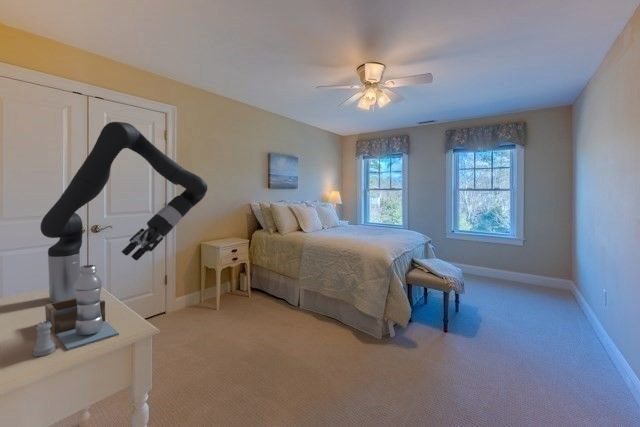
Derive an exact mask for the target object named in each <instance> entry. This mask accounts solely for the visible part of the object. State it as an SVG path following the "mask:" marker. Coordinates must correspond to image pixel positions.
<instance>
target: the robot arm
mask: <svg viewBox="0 0 640 427" xmlns="http://www.w3.org/2000/svg"><path fill="white" fill-rule="evenodd" d="M124 149H129V150H131V151H133V152H134V153H136V154H138V155H139V156H140V157H142V158H144V160H145V161H146V162H147V163H149V165H150V166H151V167H152V168H153V169H154V170H155V171H156V172H157V173H158V174H159V176H162V178H165V179H166V180H167V181H168V182H170V183H171V184H174V186H178V185H179V186H180V187H183V188H184V189H185V190H184V191H182V192H181V193H180V194H179V195H176V196H175V197H173V198H172V199H171V200H170V201H169V202H167V204H166V205H164V207H161V208H160V210H158V211H157V212H156V213H155V214H154V215H153V216H152V217H151V218H150V219H149V220H148V221H147V222H146V225H147V226H148V228H146V229H145V228H140V229H139V230H138V231H137V232H136V233H135V234H133V236H132V237H131V238H130V239H129V240H128V241H129V243H128V245H127V246H126V247H124V248H123V249H122V250H121V253H122V254H123V255H125V256H129V255H130V254H131V252H133V251H134V250H135V249H136V248H137V247H138V246H140V245H141V246H140V247H139V248H138V249H136V251H134V252H133V254H131V256H130V257H131V259H133V260H134V261H139V260H140V259H141V258H142V257H143V256H144V255H145V253H148V252H152V251H153V250H155V248H156V247H157V246H158V245H159V244H160V243H161V242H162V241H163V240H164V238H165V237H166V236H167V235H168V234H169V233H170V232H171V231H172V230H173V229H174V228H175V227H176V226H177V225H178V224H179V223H180V222H181V220H182V219H183V217H185V216H186V215H187V213H189V212H190V210H191V209H192V208H193V207H194V206H196V205H197V204H198V203H200V202H201V201H202V200H203V199H204V198H205V196H206V193H207V191H208V184H207V182H206V181H205V180H204V178H202V177H200V176H199V175H197V174H195V173H193V172H192V171H189V170H187V169H185V168H184V167H183V166H182V165H180V164H178V163H177V162H176V161H174V160H173V159H172V158H170V157H168V155H167V154H166V153H164V152H162V151H161V150H160V149H159V148H157V147H156V146H155V145H154V144H153V143H152V142H150V140H149V139H148V138H147V137H145V136H144V134H143V133H141V131H140V130H138V129H137V127H136V126H134V125H133V124H131V123H129V122H122V121H111V122H107V124H105V125H104V126H103V128H102V129H101V131H100V133H99V136H98V137H97V139H96V142H95V144H94V146H93V147H92V150H91V151H90V152H89V154H88V156H86V158H85V160H84V161H83V163H82V165H81V166H80V167H79V169H78V170H77V172H76V173H75V174H74V176H73V178H72V180H71V181H70V183H69V184H68V185H67V187H66V188H65V190H64V191H63V193H62V194H61V196H60V197H59V199H58V200H57V201H56V202H55V203H54V204H53V205H52V207H51V208H50V209H49V210H48V211H47V213H46V214H45V215H44V217H43V218H42V219H41V222H40V231H41V234H42V235H43V236H45V237H46V238H49V239H55V238H57V239H58V238H59V240H58V241H57V242H55V244H53V245H52V246H50V247H49V248H48V249H47V259H48V260H47V261H48V262H47V263H48V288H49V289H48V293H49V297H48V298H49V300H48V301H49V302H50V303H54V302H59V301H64V300H69V299H74V298H76V294H75V289H74V284H75V282H76V281H77V279H78V278H79V277H80V276H81V274H80V267H81V251H80V249H81V248H82V245H83V229H84V228H83V220H82V217H81V216H80V215H79V214H78V213H76V212H77V211H78V210H79V209H81V208H82V207H83V206H85V205H86V204H88V203H90V202H92V201H93V199H95V198H96V197H97V196H99V195H100V194H101V192H102V191H103V189H104V188H105V186H106V184H107V183H108V181H109V179H110V176H111V175H110V174H111V167H112V165H113V162H114V161H115V159H116V158H117V156H118V155H119V154H120V153H121V151H123V150H124Z"/></svg>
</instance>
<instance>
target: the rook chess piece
mask: <svg viewBox="0 0 640 427" xmlns="http://www.w3.org/2000/svg"><path fill="white" fill-rule="evenodd" d="M51 326H52V324H51V323H50V321H47V323H46V320H44V321H43V323H42V322H41V321H40V322H38V323H37V324H36V327H35V330H36V331H37V332H36V335H37V340H36V344H35V347H34V348H33V349H32V351H33V354H32V355H33V356H35V357H38V358H39V357H45V356H48V355H51V354H52V353H54V352H55V351H56V350H57V349H56V348H57V347H56V343H55V342H54V340H53V339H52V336H51V332H52V330H51V329H50V328H51Z"/></svg>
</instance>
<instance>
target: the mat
mask: <svg viewBox="0 0 640 427" xmlns="http://www.w3.org/2000/svg"><path fill="white" fill-rule="evenodd" d="M119 335H120V333H119V332H118V331H117V329H115V328H114V327H113V326H112V325H111V324H110V323H109V322H107V321H106V320H105V321H103V325H102V328H101V330H100V331H99V332H97V333H94V334H91V335H78V334H77V333H76V330H75V329H73V330H69V331H66V332H62V333H58V334H57V335H56V337H57V338H58V339H57V340H59V341H60V343H61V344H62V345H63V346H64V348H65V350H66V351H70V350H75V349H77V348H80V347H83V346H84V347H85V346H87V345H90V344H93V343H97V342H100V341H104V340H106V339H110V338H113V337H117V336H119Z"/></svg>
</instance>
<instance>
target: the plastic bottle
mask: <svg viewBox="0 0 640 427" xmlns="http://www.w3.org/2000/svg"><path fill="white" fill-rule="evenodd" d="M96 273H97V265H96V264H95V265H94V264H87V265H82V266H81V265H80V277H79V278H78V279H77V281H76V282H75V284H74V289H75V294H76V299H77V318H76V322H75V330H76V333H77V334H78V335H91V334H94V333H97V332H99V331H100V330H101V328H102V325H103V320H102V316H101V310H100V300H101V293H102V292H101V291H102V286H103V281H102V279H101V278H100V277H99V276H98V274H96Z"/></svg>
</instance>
